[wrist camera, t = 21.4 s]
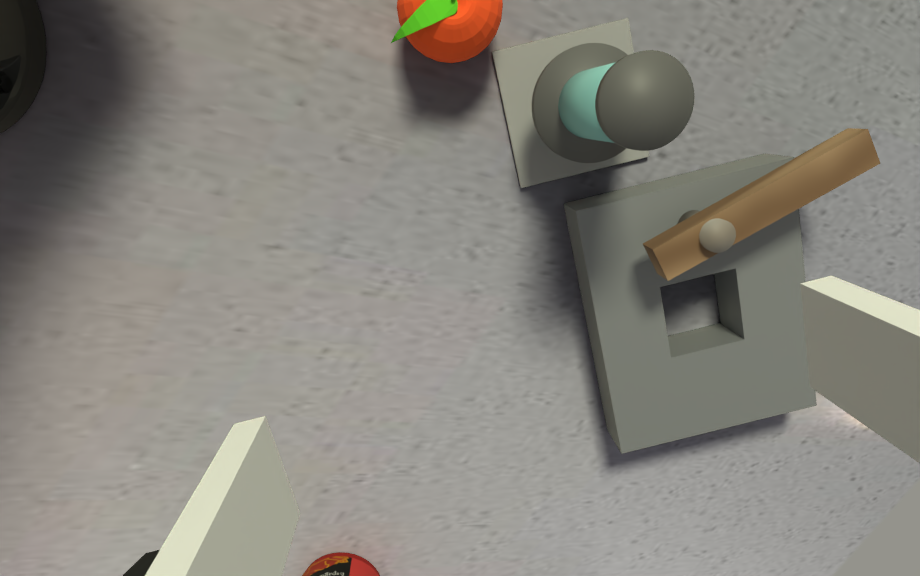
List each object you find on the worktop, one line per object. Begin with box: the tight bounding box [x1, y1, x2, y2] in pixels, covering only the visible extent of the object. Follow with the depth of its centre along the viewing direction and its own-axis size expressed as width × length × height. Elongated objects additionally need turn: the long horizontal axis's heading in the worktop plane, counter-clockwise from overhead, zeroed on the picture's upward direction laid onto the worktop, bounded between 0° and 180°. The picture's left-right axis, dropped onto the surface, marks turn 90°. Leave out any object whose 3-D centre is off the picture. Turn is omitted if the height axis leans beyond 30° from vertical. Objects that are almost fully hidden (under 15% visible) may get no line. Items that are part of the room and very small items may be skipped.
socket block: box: [564, 154, 816, 454], centre depth 50 cm, size 16×20×4 cm
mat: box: [492, 18, 649, 188], centre depth 47 cm, size 10×10×1 cm
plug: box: [532, 43, 694, 163], centre depth 39 cm, size 8×8×16 cm
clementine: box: [391, 0, 503, 63], centre depth 42 cm, size 8×7×7 cm
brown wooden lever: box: [643, 128, 880, 281], centre depth 44 cm, size 2×16×4 cm, turn 120°
